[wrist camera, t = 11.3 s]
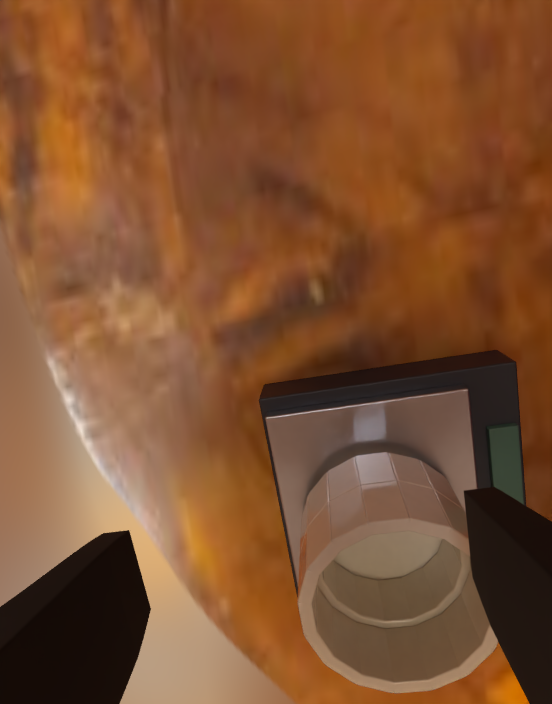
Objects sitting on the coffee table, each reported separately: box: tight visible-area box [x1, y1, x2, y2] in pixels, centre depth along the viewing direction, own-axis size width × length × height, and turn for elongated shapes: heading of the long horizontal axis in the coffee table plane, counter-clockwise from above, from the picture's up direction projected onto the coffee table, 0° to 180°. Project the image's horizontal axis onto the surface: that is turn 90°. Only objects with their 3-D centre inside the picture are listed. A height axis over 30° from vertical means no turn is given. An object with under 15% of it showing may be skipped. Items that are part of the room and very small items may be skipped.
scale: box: [259, 350, 526, 597], centre depth 19 cm, size 9×10×2 cm
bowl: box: [298, 452, 498, 693], centre depth 16 cm, size 6×6×4 cm
